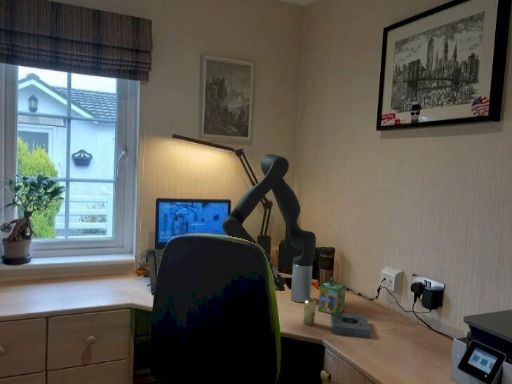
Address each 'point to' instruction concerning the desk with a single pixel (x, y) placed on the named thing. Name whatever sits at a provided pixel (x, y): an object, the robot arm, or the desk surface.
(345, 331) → the jig plate
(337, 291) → the chalk box
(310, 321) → the brass sleeve
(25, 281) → the desk surface
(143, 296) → the desk surface
